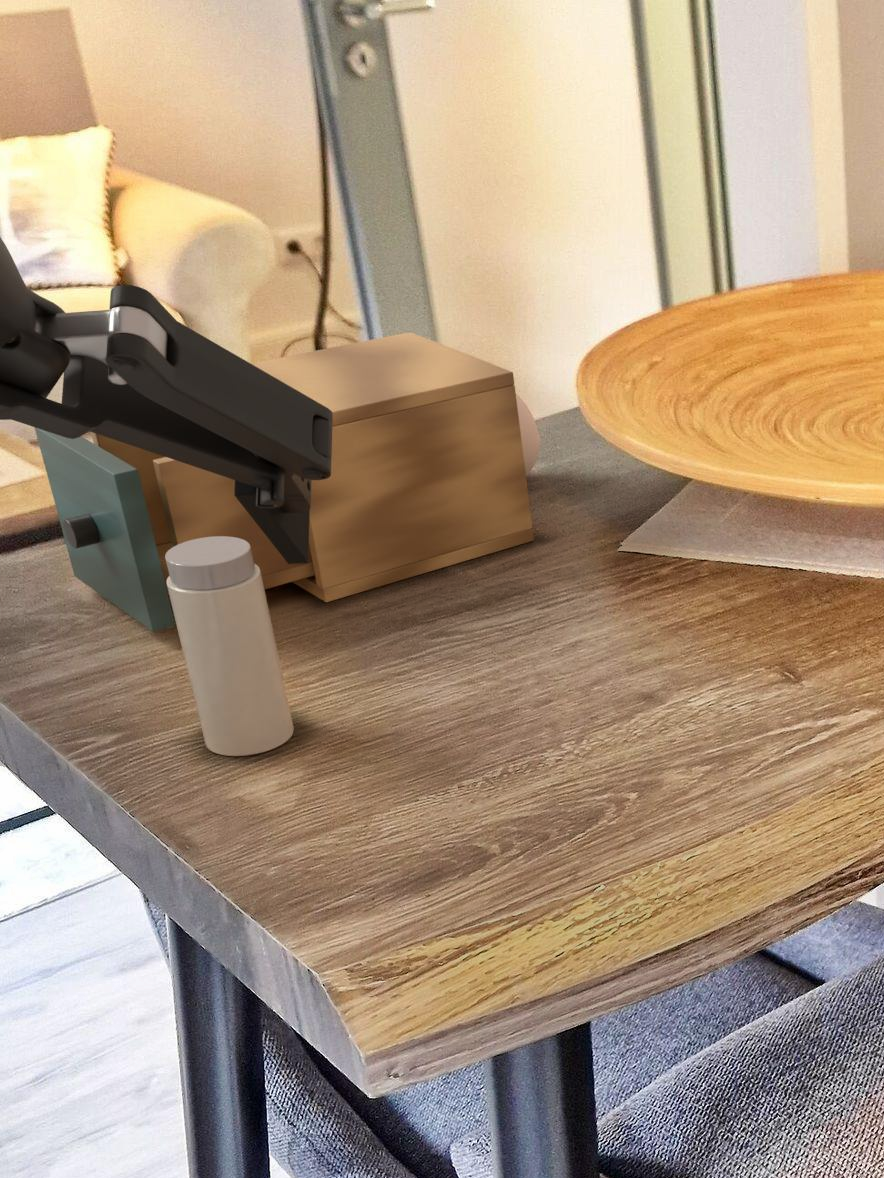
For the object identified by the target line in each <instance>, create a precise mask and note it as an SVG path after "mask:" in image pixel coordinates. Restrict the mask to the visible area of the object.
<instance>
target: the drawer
mask: <svg viewBox="0 0 884 1178" xmlns="http://www.w3.org/2000/svg"><path fill="white" fill-rule="evenodd" d="M33 428H34V431H35V434H36V438H37V442H38V446H39V449H40V453H41V456H42V461H43V464H44V468H45V472H46V475H47V480H48V483H49V486H50V491H51V494H52V498H53V501H54V505H55V509H56V513H57V516H58V519H59V523H60V527H61V531H62V536H63V539H64V542H65V546H66V549H67V552H68V553H67V554H68V557H69V560H70V564H71V568H72V571H73V575H74V577H75V578H77V579H78V580H79V581H81V582H82V583H83V584H85V585H86V586H88V587H89V588H90V589H92V590H93V591H94V592H96V593H98V594H99V595H100V596H102V597H103V598H105V600H107V601H109V602H110V603H111V604H113V605H114V606H116V607H117V608H118V609H120V610H122V612H124V613H126V614H127V615H128V616H129V617H131V618H132V619H134V620H135V621H137V623H139V624H141V625H142V626H144V627H145V628H147V630H149V631H151V632H152V633H156V632H159V631H163V630H166V629H170V628H174V627H176V621H175V617H174V613H173V609H172V604H171V600H170V596H169V592H168V588H167V584H166V581H167V578H168V577H169V571H168V567H167V563H166V559H165V555H166V553H167V551H168V550H170V549H171V548H172V547H174V546H176V545H178V544H181V543H183V542H186V541H190V540H194V539H199V538H205V537H215V536H227V537H236V538H240V539H243V540H245V541H247V542H248V543H249V544H250V546H251V550H252V555H253V560H254V563H255V564H256V565H257V566H258V567H259V568H260V570H261V575H262V580H263V585H264V589H265V590H268V589H271V588H274V587H278V586H281V585H285V584H288V583H289V584H290V583H293V582H292V581H296V580H299V579H303V578H306V577H310V576H313V575H315V572H314V567H313V562H312V557H311V551H310V546H308V563H302V564H288V563H287V562H286V560H285V559H284V558H283V557H282V555H281V554H280V553H279V551H278V550H277V549H276V548H275V546H274V545H273V544H272V543H271V541H270V540H269V539H268V537H267V536H266V535H265V534H264V532H263V531H262V530H261V529H260V527H259V526H258V525H257V523H256V522H255V521H254V520H253V518H252V517H251V516H250V515H249V513H248V512H247V511H246V509H245V508H244V507H243V506H242V504H241V503H240V502H239V501H238V499H237V498H236V497H235V496H234V490H235V480H233V479H230V478H227V477H224V476H221V475H218V474H215V473H212V472H209V471H206V470H203V469H200V468H197V467H194V466H191V465H188V464H185V463H182V462H179V461H176V460H173V459H171V458H168V457H165V456H162V455H159V454H156V453H153V452H150V451H147V450H144V449H141V448H138V447H135V446H132V445H129V444H126V443H123V442H120V441H117V440H114V439H111V438H108V437H105V436H102V435H99V434H96V433H93V432H90V434H91V439H92V441H90V440H89V439H87V438H85V437H84V436H83V435H82V436H80V437H79V438H75V439H71V438H66V437H63V436H60V435H57V434H54V433H51V432H48V431H44V430H41V429H38V428H35V427H33Z"/></svg>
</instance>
